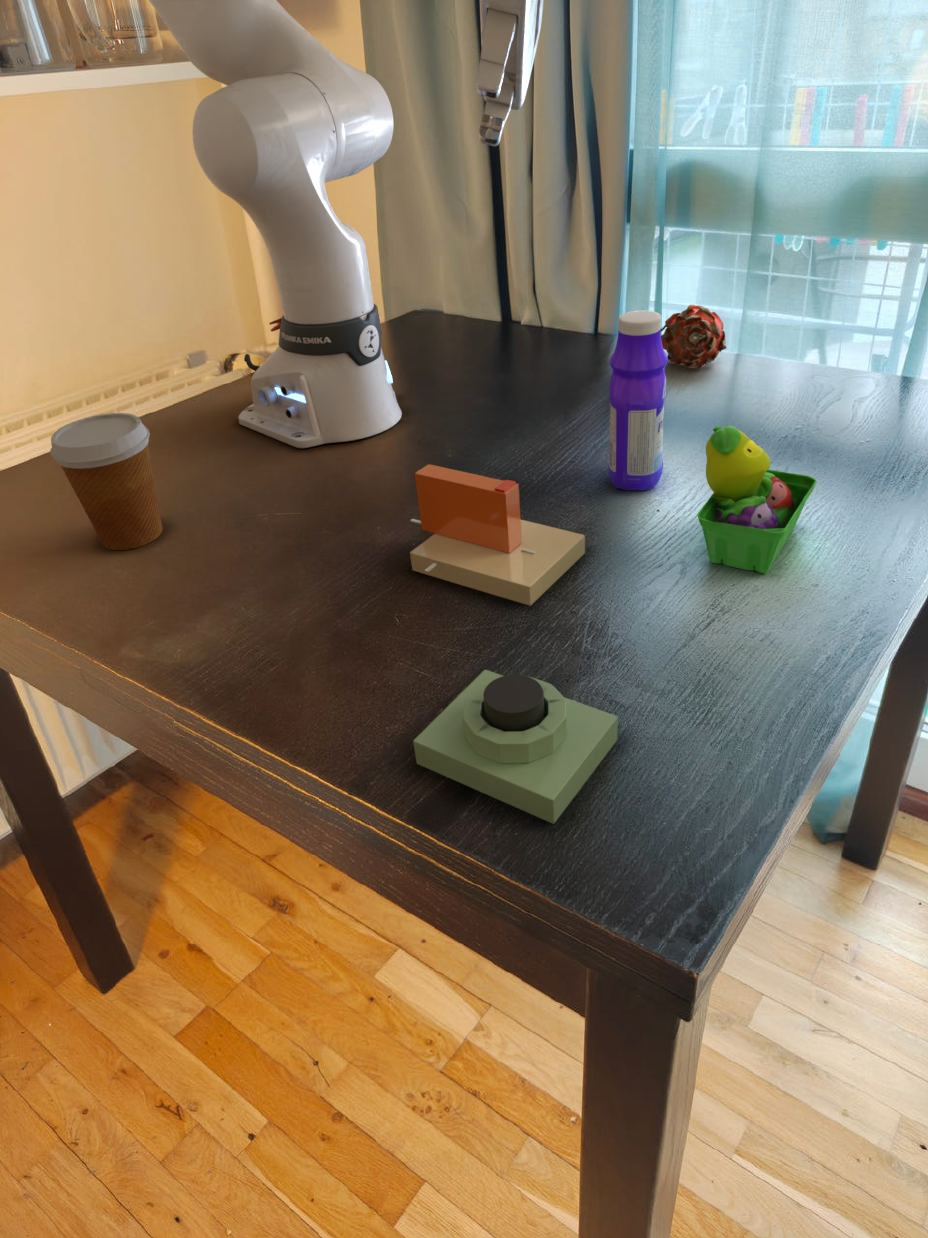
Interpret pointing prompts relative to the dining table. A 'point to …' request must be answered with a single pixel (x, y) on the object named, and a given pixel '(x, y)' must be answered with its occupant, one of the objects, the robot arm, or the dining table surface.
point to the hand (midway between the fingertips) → (487, 118)
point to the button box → (519, 750)
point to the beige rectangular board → (502, 562)
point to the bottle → (637, 402)
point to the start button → (514, 703)
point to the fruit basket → (748, 502)
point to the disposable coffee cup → (111, 476)
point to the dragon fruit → (693, 337)
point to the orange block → (469, 507)
